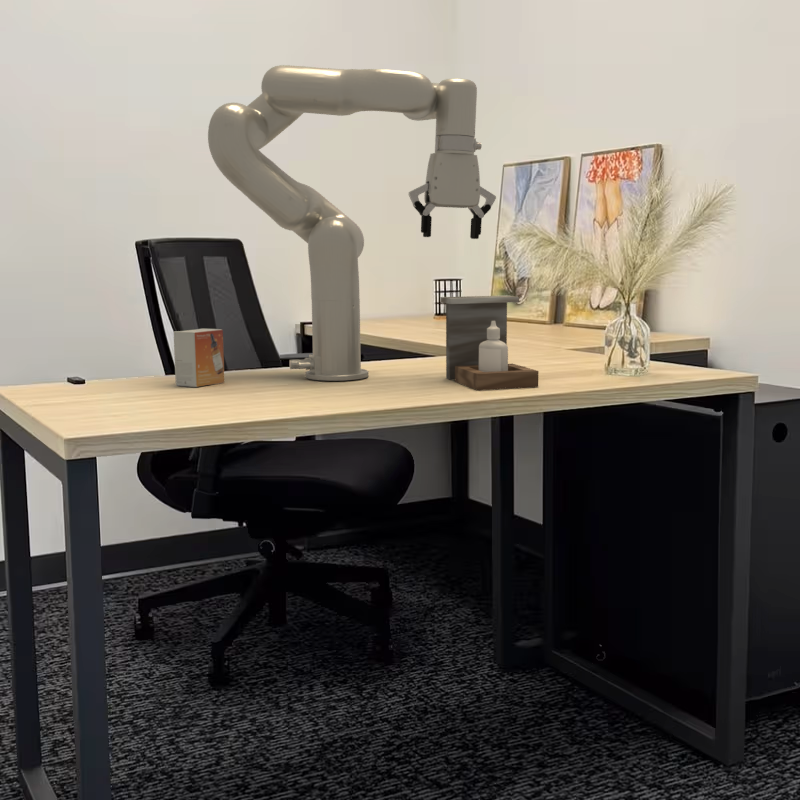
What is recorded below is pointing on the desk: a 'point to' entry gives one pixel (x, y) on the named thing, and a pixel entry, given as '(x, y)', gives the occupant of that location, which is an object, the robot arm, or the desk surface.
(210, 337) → the small box
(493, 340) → the eye dropper bottle
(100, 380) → the desk surface
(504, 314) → the display stand with tray
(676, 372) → the desk surface
